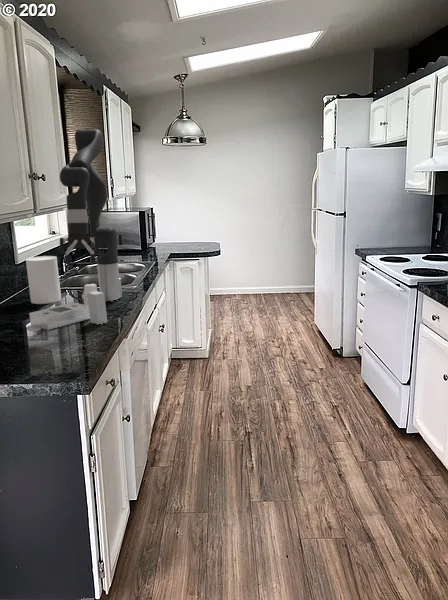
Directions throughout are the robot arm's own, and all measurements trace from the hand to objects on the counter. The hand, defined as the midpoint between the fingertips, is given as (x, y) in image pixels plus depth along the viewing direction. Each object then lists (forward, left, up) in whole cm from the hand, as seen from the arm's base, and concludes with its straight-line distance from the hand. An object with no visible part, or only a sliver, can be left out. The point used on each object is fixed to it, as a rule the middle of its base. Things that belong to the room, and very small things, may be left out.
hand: (80, 264), depth 195 cm
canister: (-13, -48, -23) cm, 55 cm away
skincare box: (-2, +5, -23) cm, 24 cm away
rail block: (+5, -9, -23) cm, 25 cm away
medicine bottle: (-12, -12, -23) cm, 29 cm away
